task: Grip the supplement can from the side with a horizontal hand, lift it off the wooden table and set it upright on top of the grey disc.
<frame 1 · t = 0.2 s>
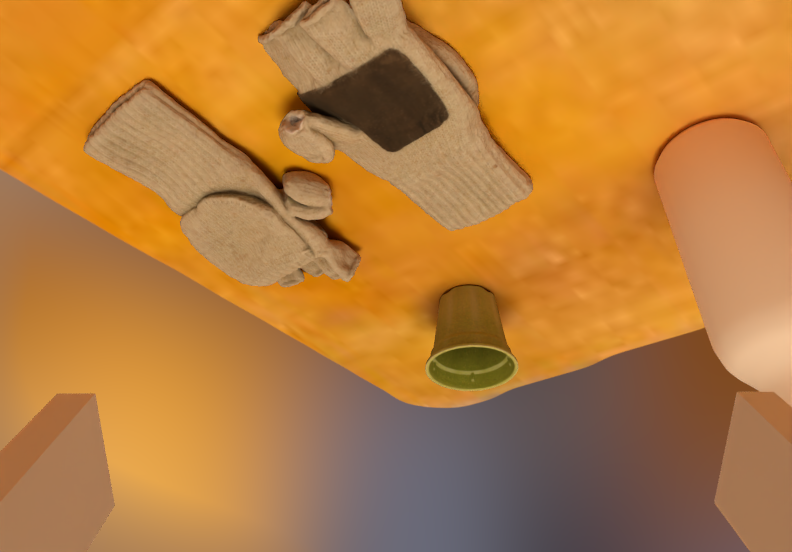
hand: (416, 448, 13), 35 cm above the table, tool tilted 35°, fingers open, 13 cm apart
pair of gloves: (316, 153, 53), on the table
alcohol: (706, 153, 52), on the table
plant pot: (466, 298, 69), on the table
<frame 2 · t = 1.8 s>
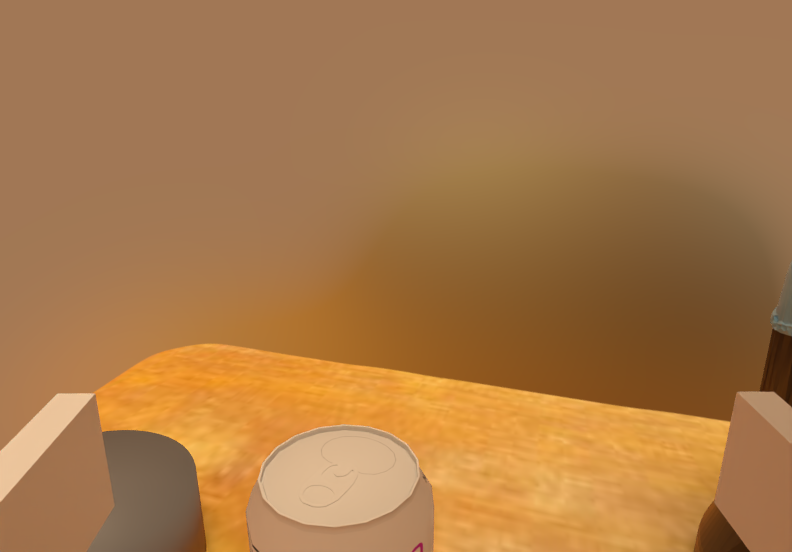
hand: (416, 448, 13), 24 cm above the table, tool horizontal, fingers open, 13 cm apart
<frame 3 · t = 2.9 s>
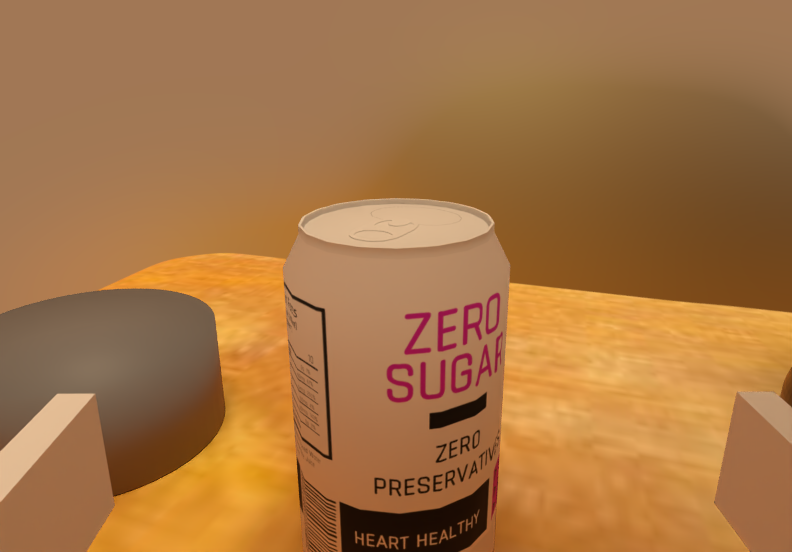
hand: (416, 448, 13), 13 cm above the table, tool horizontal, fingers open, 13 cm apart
grey disc: (102, 426, 37), on the table
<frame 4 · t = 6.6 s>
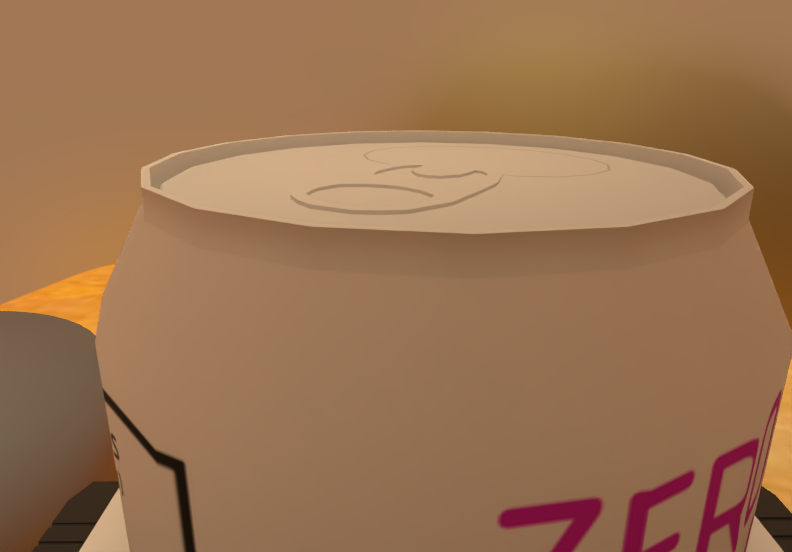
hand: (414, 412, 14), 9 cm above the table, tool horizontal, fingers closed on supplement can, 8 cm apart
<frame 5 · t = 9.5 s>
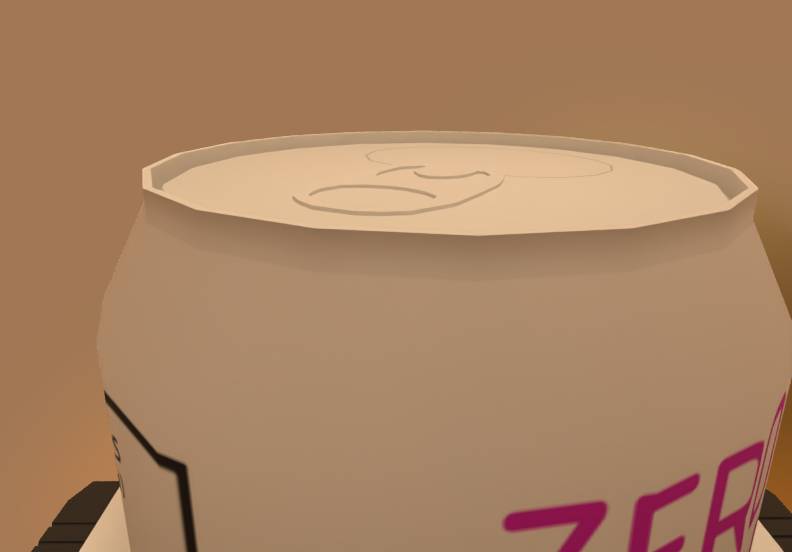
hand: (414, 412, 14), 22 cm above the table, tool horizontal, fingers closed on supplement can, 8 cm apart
when the fingers open (16 cm above the table, at t = 12.2 s): supplement can drops 1 cm, resting on grey disc.
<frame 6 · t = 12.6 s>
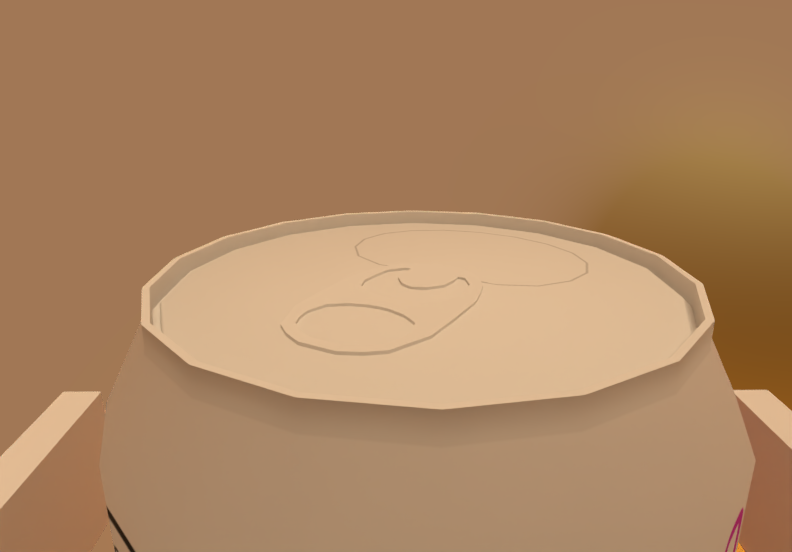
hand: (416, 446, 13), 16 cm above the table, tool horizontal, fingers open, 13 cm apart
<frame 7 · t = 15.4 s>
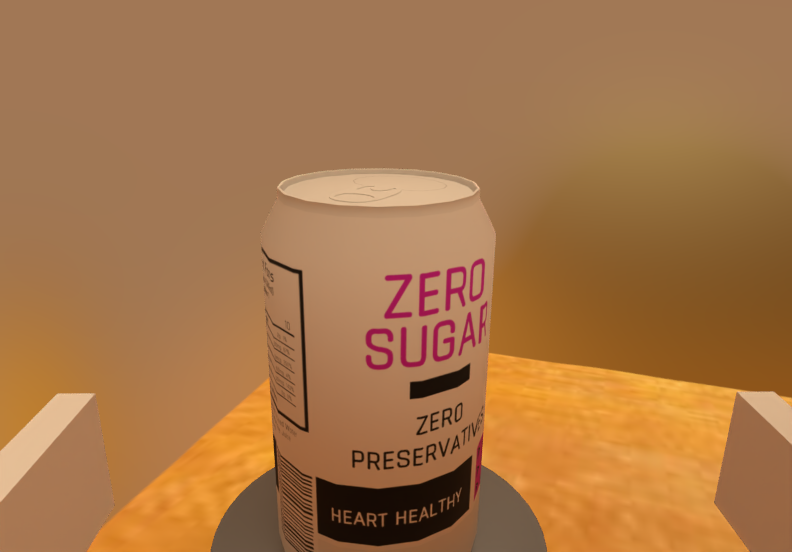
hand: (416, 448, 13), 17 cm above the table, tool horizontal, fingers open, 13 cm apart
supplement can: (378, 538, 27), point 6 cm above the table, touching grey disc
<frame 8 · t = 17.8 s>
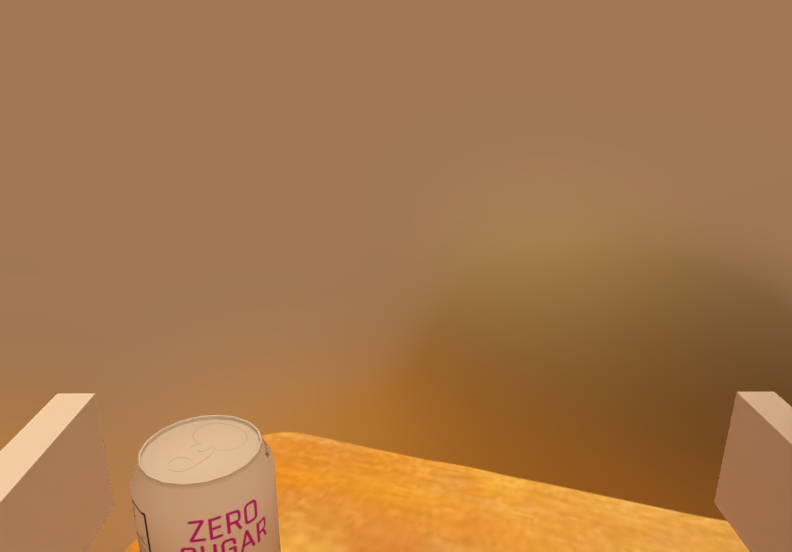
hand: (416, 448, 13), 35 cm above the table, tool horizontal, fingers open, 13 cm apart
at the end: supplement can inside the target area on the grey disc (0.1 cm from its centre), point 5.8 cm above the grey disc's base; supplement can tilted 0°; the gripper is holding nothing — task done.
